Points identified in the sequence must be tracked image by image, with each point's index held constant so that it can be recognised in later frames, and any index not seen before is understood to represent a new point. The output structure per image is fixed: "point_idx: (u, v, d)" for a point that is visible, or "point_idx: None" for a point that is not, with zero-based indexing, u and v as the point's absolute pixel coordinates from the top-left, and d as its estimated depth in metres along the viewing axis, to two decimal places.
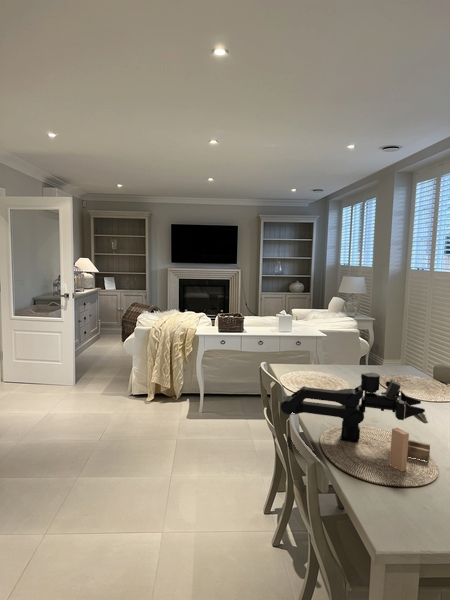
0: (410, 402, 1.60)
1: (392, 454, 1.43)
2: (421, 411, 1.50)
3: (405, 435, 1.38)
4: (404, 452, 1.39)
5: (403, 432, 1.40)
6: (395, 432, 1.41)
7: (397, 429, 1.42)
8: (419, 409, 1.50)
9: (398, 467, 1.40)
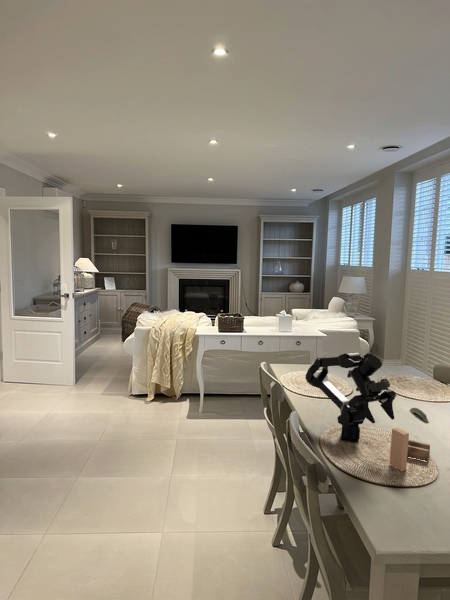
0: (387, 410, 1.52)
1: (392, 454, 1.43)
2: (371, 420, 1.46)
3: (405, 435, 1.38)
4: (404, 452, 1.39)
5: (403, 432, 1.40)
6: (395, 432, 1.41)
7: (397, 429, 1.42)
8: (370, 417, 1.46)
9: (398, 467, 1.40)
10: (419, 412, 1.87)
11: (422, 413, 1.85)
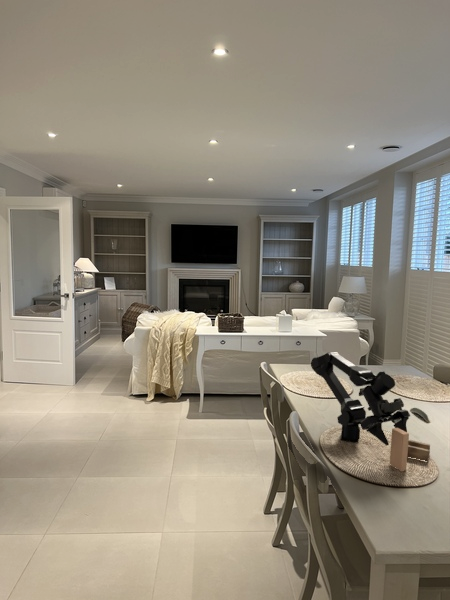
0: None
1: (392, 454, 1.43)
2: (384, 442, 1.41)
3: (405, 435, 1.38)
4: (404, 452, 1.39)
5: (403, 432, 1.40)
6: (395, 432, 1.41)
7: (397, 429, 1.42)
8: (384, 439, 1.41)
9: (398, 467, 1.40)
10: (420, 412, 1.87)
11: (423, 413, 1.85)
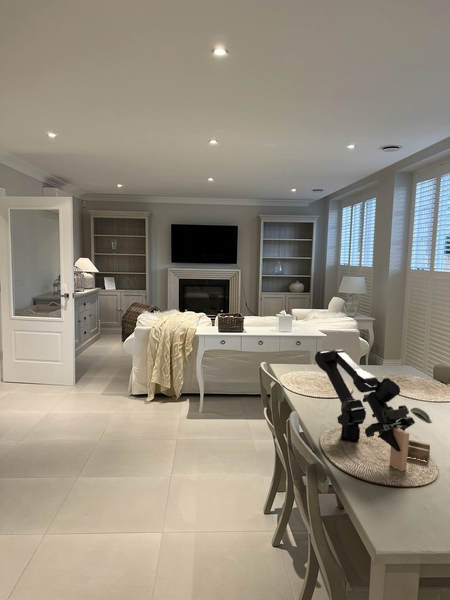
0: None
1: (392, 454, 1.43)
2: (396, 448, 1.40)
3: (405, 435, 1.39)
4: (405, 452, 1.39)
5: (403, 432, 1.40)
6: (395, 432, 1.41)
7: (397, 429, 1.42)
8: (395, 445, 1.40)
9: (398, 467, 1.40)
10: (421, 412, 1.87)
11: (424, 413, 1.85)
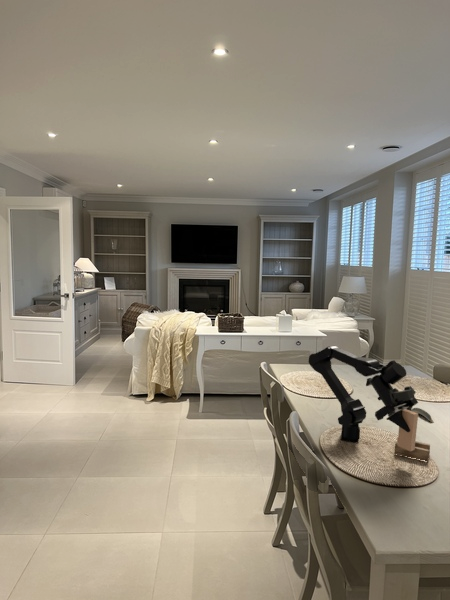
0: None
1: (400, 435, 1.44)
2: (405, 429, 1.42)
3: (415, 415, 1.41)
4: (414, 432, 1.41)
5: (412, 412, 1.42)
6: (404, 413, 1.43)
7: (405, 410, 1.44)
8: (405, 426, 1.42)
9: (407, 447, 1.42)
10: (422, 412, 1.87)
11: (426, 413, 1.85)
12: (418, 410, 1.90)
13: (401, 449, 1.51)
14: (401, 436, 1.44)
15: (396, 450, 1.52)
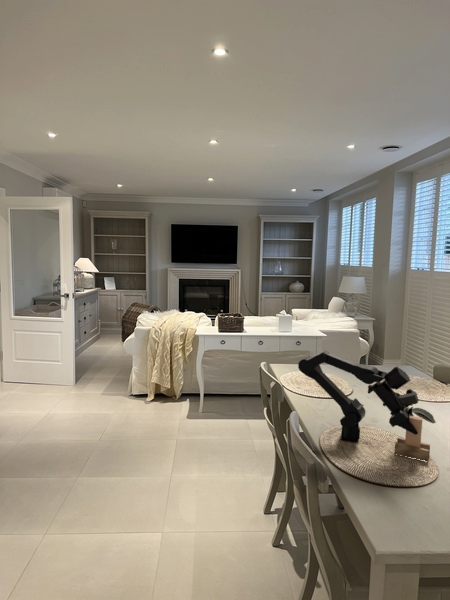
0: None
1: (407, 441, 1.51)
2: (413, 432, 1.48)
3: (422, 420, 1.49)
4: None
5: (418, 418, 1.50)
6: (411, 420, 1.50)
7: (410, 416, 1.51)
8: (414, 429, 1.48)
9: None
10: (424, 412, 1.87)
11: (428, 413, 1.86)
12: (419, 410, 1.90)
13: (401, 449, 1.51)
14: (408, 442, 1.51)
15: (396, 450, 1.52)
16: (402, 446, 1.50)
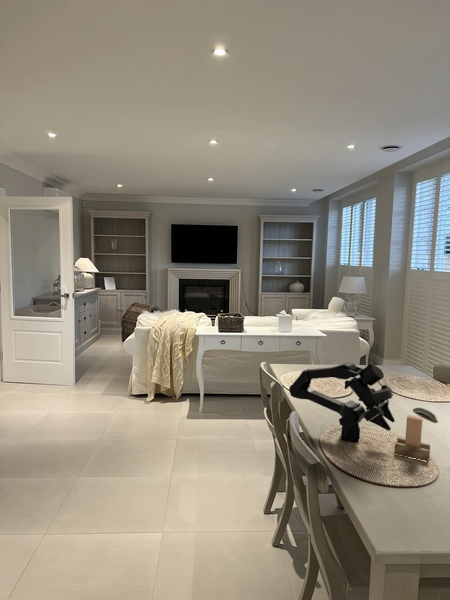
0: (386, 414, 1.60)
1: (407, 441, 1.51)
2: (386, 428, 1.51)
3: (422, 420, 1.49)
4: None
5: (418, 418, 1.50)
6: (411, 419, 1.50)
7: (410, 416, 1.51)
8: (386, 425, 1.51)
9: None
10: (426, 412, 1.87)
11: (430, 413, 1.86)
12: (421, 410, 1.90)
13: (401, 449, 1.51)
14: (408, 442, 1.51)
15: (396, 450, 1.52)
16: (402, 446, 1.50)
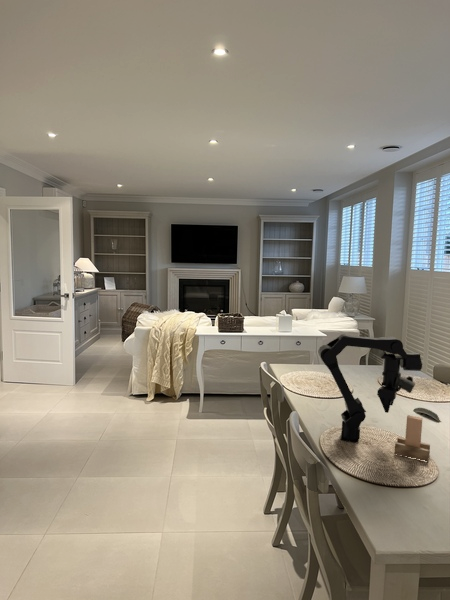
0: None
1: (407, 441, 1.51)
2: (385, 409, 1.57)
3: (422, 420, 1.49)
4: None
5: (418, 418, 1.50)
6: (411, 419, 1.50)
7: (410, 416, 1.51)
8: (387, 408, 1.56)
9: None
10: (428, 412, 1.88)
11: (432, 413, 1.86)
12: (422, 410, 1.90)
13: (401, 449, 1.51)
14: (408, 442, 1.51)
15: (396, 450, 1.52)
16: (402, 446, 1.50)
